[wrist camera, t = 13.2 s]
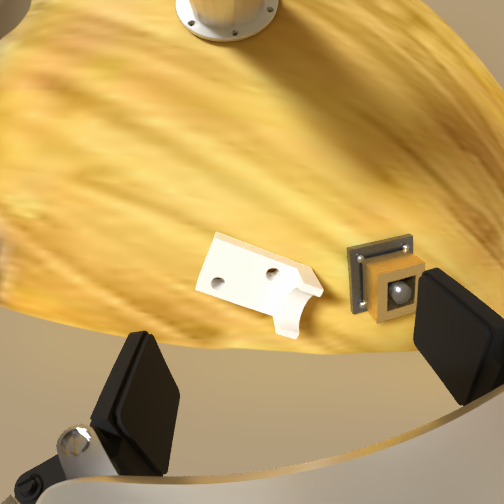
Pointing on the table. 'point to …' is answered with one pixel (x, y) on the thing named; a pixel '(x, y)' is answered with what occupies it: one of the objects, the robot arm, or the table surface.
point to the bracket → (258, 281)
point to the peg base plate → (358, 253)
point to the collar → (389, 270)
